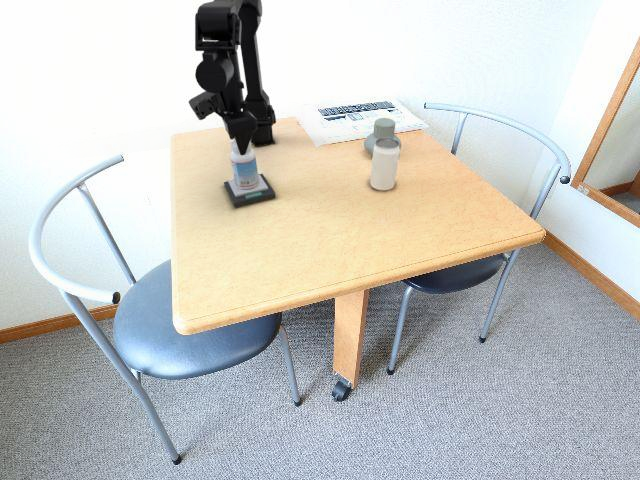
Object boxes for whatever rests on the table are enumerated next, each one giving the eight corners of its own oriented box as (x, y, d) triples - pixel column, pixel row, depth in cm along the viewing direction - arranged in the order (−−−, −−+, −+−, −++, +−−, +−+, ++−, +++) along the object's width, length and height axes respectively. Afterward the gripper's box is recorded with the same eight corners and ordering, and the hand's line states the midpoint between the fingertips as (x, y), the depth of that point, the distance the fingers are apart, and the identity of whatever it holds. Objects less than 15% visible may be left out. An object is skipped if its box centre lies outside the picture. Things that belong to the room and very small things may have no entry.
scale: (263, 178, 100) (262, 171, 98) (275, 198, 92) (275, 190, 91) (224, 187, 96) (223, 179, 95) (234, 208, 89) (233, 200, 88)
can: (396, 180, 99) (402, 138, 91) (392, 193, 94) (398, 150, 86) (372, 176, 100) (377, 135, 92) (367, 189, 96) (371, 146, 88)
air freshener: (392, 145, 114) (397, 114, 108) (403, 157, 108) (409, 125, 102) (359, 149, 112) (361, 118, 106) (369, 162, 106) (372, 129, 100)
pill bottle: (263, 180, 95) (258, 139, 87) (250, 192, 91) (244, 150, 83) (243, 175, 97) (237, 135, 89) (230, 186, 92) (222, 145, 85)
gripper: (179, 69, 80) (195, 137, 90) (195, 96, 67) (211, 172, 77) (230, 63, 84) (239, 129, 94) (253, 88, 71) (262, 161, 81)
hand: (237, 146), depth 86 cm, fingers open, 9 cm apart
